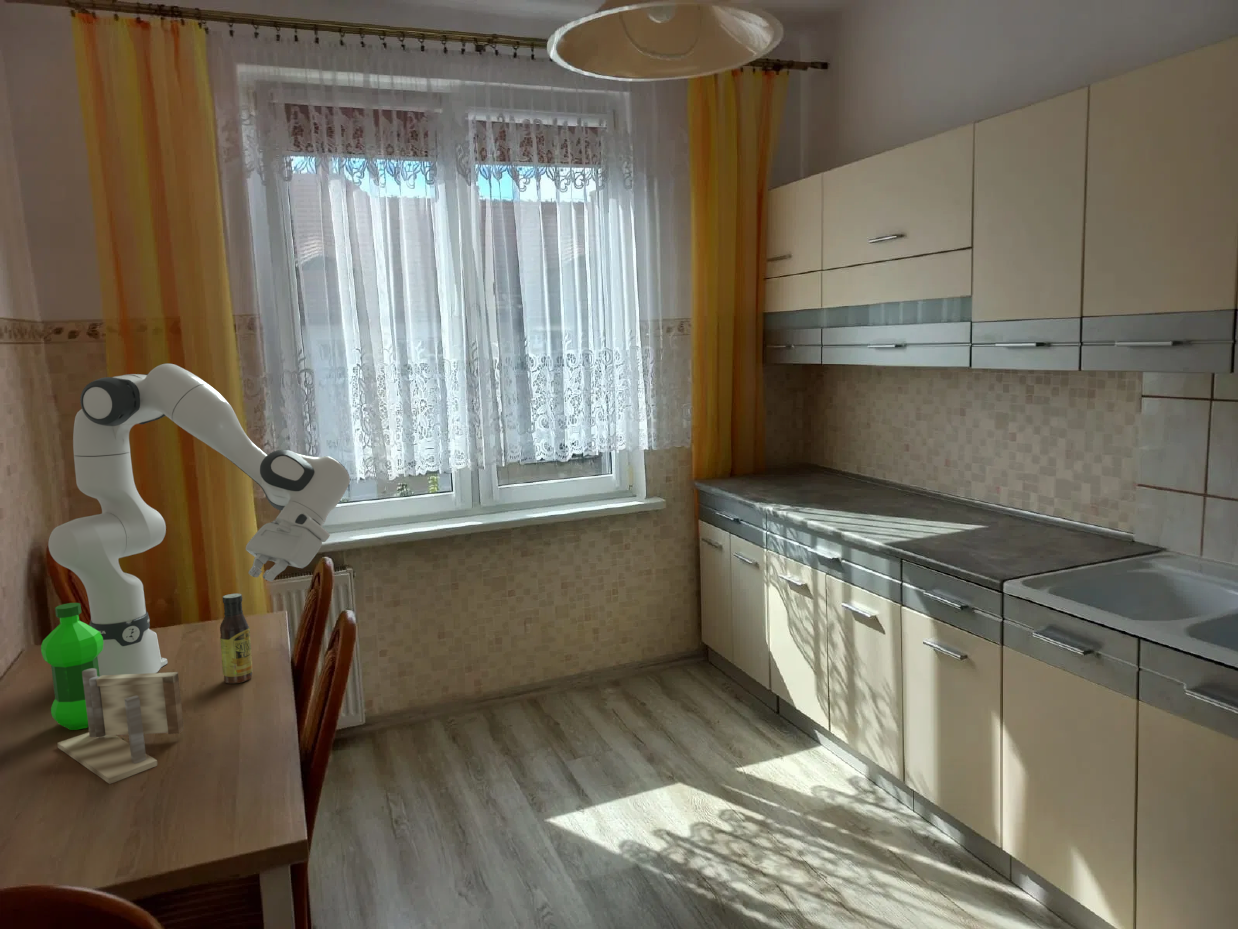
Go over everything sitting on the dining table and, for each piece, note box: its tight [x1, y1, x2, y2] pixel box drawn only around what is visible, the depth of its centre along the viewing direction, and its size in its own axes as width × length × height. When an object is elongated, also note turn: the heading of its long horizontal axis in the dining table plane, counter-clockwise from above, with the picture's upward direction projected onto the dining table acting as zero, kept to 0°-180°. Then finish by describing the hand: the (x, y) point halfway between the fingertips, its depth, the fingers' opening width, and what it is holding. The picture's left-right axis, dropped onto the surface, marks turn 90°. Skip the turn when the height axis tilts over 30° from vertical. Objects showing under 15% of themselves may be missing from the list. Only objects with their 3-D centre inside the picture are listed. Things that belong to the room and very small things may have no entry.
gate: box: [89, 671, 185, 737], centre depth 162 cm, size 16×2×12 cm, turn 92°
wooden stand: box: [57, 668, 158, 785], centre depth 156 cm, size 24×8×14 cm, turn 52°
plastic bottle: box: [40, 602, 103, 731], centre depth 170 cm, size 10×10×25 cm
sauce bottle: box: [219, 593, 254, 684], centre depth 192 cm, size 7×6×20 cm
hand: (259, 577), depth 176 cm, fingers open, 4 cm apart
